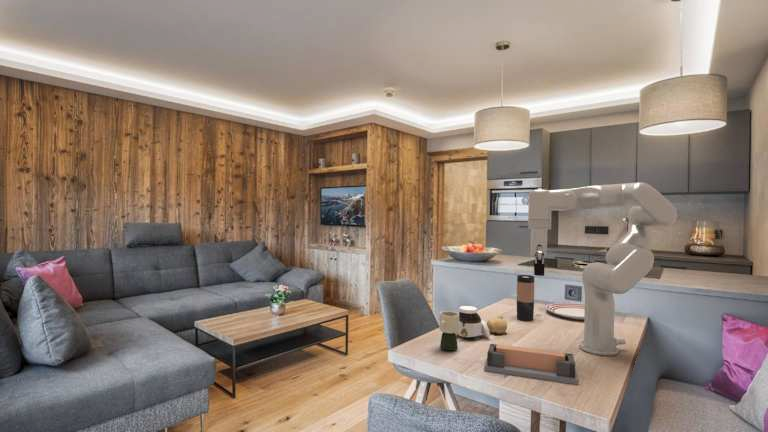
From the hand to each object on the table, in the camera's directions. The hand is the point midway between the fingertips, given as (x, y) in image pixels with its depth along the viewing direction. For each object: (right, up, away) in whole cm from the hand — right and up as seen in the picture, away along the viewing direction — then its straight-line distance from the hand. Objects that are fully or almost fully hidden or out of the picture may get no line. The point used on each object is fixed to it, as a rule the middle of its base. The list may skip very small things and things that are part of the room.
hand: (538, 273), depth 139 cm
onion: (-8, -28, +23) cm, 38 cm away
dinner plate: (+39, -28, +53) cm, 71 cm away
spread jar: (-19, -28, +18) cm, 38 cm away
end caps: (-9, -27, -15) cm, 32 cm away
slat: (-9, -27, -15) cm, 32 cm away
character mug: (-31, -28, +3) cm, 42 cm away
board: (-9, -28, -15) cm, 33 cm away
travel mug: (+11, -28, +44) cm, 53 cm away
